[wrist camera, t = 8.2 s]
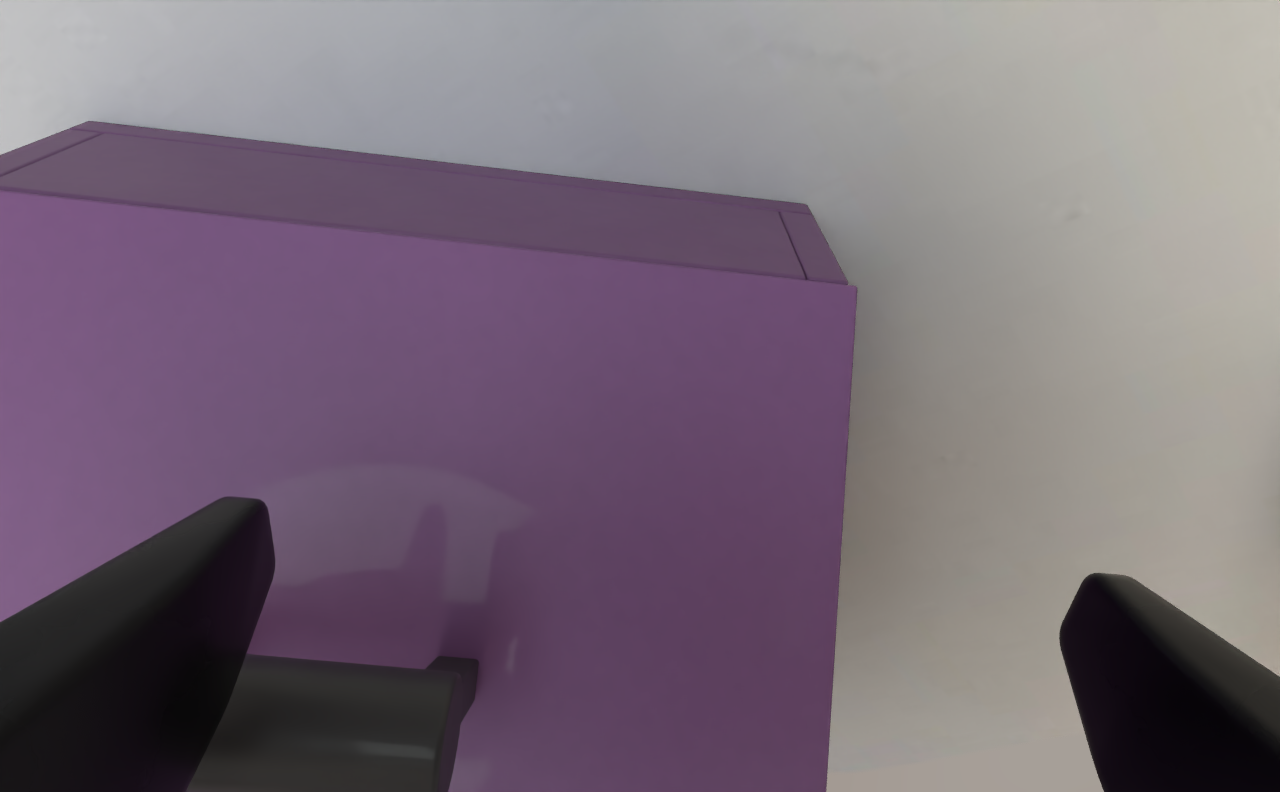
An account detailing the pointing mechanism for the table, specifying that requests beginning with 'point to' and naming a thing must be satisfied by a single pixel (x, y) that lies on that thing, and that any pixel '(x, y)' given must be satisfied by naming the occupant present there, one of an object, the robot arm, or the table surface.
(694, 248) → the file box
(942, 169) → the table surface
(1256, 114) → the table surface
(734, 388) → the lid
